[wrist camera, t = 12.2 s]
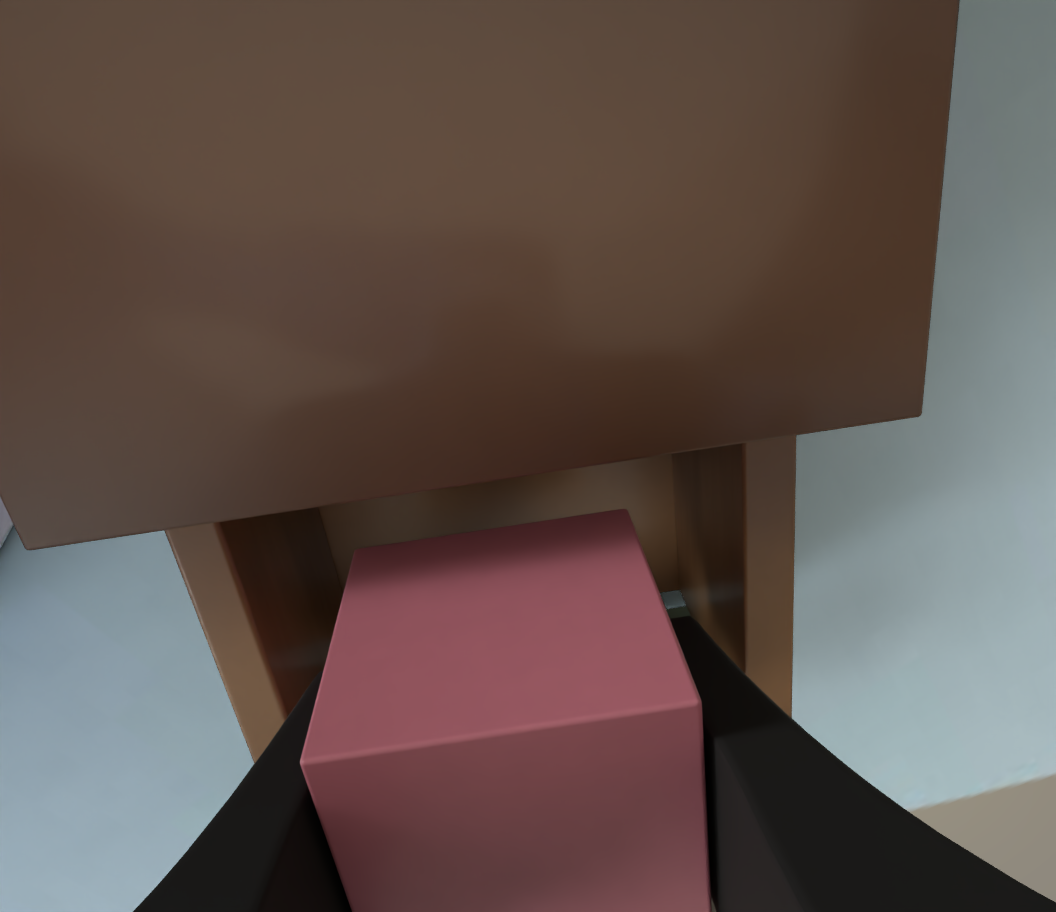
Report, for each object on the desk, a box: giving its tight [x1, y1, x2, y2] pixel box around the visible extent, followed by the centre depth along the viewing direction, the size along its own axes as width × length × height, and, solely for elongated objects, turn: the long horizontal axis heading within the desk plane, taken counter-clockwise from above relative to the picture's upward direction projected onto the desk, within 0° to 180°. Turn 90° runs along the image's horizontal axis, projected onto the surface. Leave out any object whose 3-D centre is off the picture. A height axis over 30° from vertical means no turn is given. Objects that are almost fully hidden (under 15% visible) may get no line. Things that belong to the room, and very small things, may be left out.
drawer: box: [165, 435, 796, 912], centre depth 15 cm, size 17×10×6 cm, turn 8°
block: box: [300, 509, 712, 912], centre depth 11 cm, size 4×4×4 cm
